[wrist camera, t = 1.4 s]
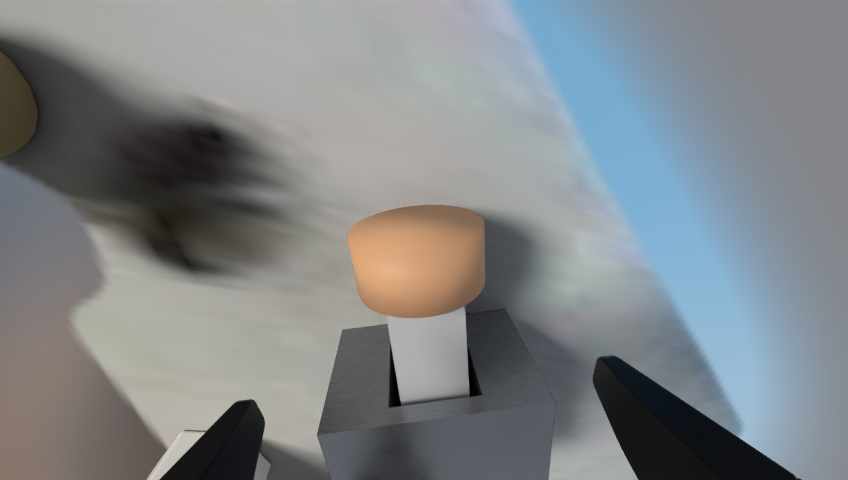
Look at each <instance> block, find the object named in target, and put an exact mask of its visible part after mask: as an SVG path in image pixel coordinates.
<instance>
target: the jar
mask: <svg viewBox="0 0 848 480" xmlns="http://www.w3.org/2000/svg"><path fill="white" fill-rule="evenodd" d="M204 433H205V432H198V431H183V432H181V433H180V434H179V435H178V436H177V438H176V439H175V441H174V442H173V443H172V445H171V446H170V447H169V449H168V450H167V451H166V453H165V454H164V455H163V457H162V458H161V459H160V461H159V462H158V463H157V465H156V466H155V468H154V469H153V471H152V472H151V474H150V475H149V477H148V478H147V480H159V479H160V478H161V477H162V476H163V475H164V474H165V473H166V472H167V471H168V470H169V469H170V468H171V467H172V466H173V465H174V464H175V463H176V462H177V461H178V460H179V459H180V458H181V457H182V456H183V455H184V454H185V453H186V452H187V451H188V450H189V449H190V448H191V447H192V446H193V445H194V443H195V442H196V441H197V440H198V439H199V438H200V437H201V436H202V435H203V434H204ZM270 468H271V464H270V463H269V462H268V460H267V459H266V458H265V457H264V456H263V455H262V454H261V453H260V452H259V456H258V461H257V466H256V471H255V475H254V480H266V479H267V476H268V473H269V471H270Z"/></svg>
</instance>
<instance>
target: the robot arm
mask: <svg viewBox="0 0 848 480" xmlns="http://www.w3.org/2000/svg"><path fill="white" fill-rule="evenodd" d="M593 384H594V387H595V389H596V392H597V394H598V396H599V399H600V401H601V403H602V405H603V408H604V410H605V412H606V415H607V417H608V419H609V422H610V424H611V426H612V428H613V431H614V433H615V435H616V438H617V440H618V442H619V444H620V446H621V448H622V450H623V452H624V454H625V456H626V458H627V460H628V461H629V463H630V465H631V467H632V469H633V471H634V472H635V474H636V476H637V478H638V480H801V479H799V478H796V477H795V475H794V474H792V473H791V472H789V471H788V470H786V469H785V468H783V467H782V466H780V465H779V464H777V463H776V462H774V461H772V460H771V459H770V458H768V457H767V456H765V455H763V454H762V453H761V452H759V451H758V450H756V449H755V448H753V447H752V446H750V445H749V444H747V443H746V442H744V441H743V440H741V439H740V438H738V437H737V436H735V435H734V434H732V433H731V432H729V431H728V430H726V429H725V428H723V427H722V426H720V425H719V424H717V423H716V422H714V421H713V420H711V419H710V418H708V417H707V416H705V415H704V414H702V413H701V412H699V411H698V410H696V409H695V408H693V407H692V406H690V405H689V404H687V403H686V402H684V401H683V400H681V399H680V398H678V397H677V396H675V395H674V394H672V393H671V392H669V391H668V390H666V389H665V388H663V387H662V386H660V385H659V384H657V383H656V382H654V381H653V380H651V379H650V378H648V377H647V376H645V375H644V374H642V373H641V372H639V371H638V370H636V369H635V368H633V367H632V366H630V365H629V364H627V363H626V362H624V361H623V360H621V359H620V358H618V357H616V356H613V355H610V356H602V357H599V358H598V359H597V361H596V366H595V370H594V374H593ZM264 427H265V421H264V417H263V415H262V413H261V411H260V409H259V407H258V406H257V404H256V402H255V401H254V400H252V399H250V400H241V401H237V402H235V403H234V404H233V405H232V406H231V407H230V408H229V409H228V410H227V411H226V412H225V413H224V414H223V415H222V416H221V417H220V418H219V419H218V420H217V421H216V422H215V423H214V424H213V425H212V426H211V427H210V428H209V429H208V430H207V431H206V432H205V433H204V434H203V435H202V436H201V437H200V438H199V439H198V440H197V441H196V442H195V443H194V445H193V446H192V447H191V448H190V449H189V450H188V451H187V452H186V453H185V454H184V455H183V456H182V457H181V458H180V459H179V460H178V461H177V462H176V463H175V464H174V465H173V466H172V467H171V468H170V469H169V470H168V471H167V472H166V473H165V474H164V475H163V476H162V477H161V478H160V479H159V480H254V475H255V471H256V466H257V461H258V456H259V451H260V447H261V442H262V437H263V432H264Z"/></svg>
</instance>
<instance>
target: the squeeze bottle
mask: <svg viewBox="0 0 848 480" xmlns="http://www.w3.org/2000/svg"><path fill="white" fill-rule="evenodd" d="M37 118H38V109H37V106H36V103H35V100H34V97H33V94H32V91H31V87H30V86H29V84H28V83H27V81H26V80H25V79H24V77H23V76H22V74H21V73H20V72H19V70H18V69H17V67H16V66H15V64H14V63H13V62H12V61H11V60H10V59H9V58H8V57H7V56H5V55H4V54H3V53H2V52H1V51H0V159H2V158H4V157H6V156H7V155H9V154H11V153H13V152H15V151H17V150H19V149H21V148H22V147H24V146H25V145H26V143H27V142H28V141H29V140H30V139H31V137H32V136H33V135H34V134H35V133H36V125H37Z"/></svg>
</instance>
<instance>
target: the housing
mask: <svg viewBox="0 0 848 480" xmlns="http://www.w3.org/2000/svg"><path fill="white" fill-rule="evenodd" d="M465 316H466V336H467V356H468V376H469V396H470V397H465V398H458V399H451V400H443V401H436V402H429V403H421V404H414V405H406V406H401V401H400V395H399V389H398V383H397V377H396V371H395V365H394V359H393V353H392V348H391V342H390V336H389V330H388V324H387V325H379V326H371V327H363V328H355V329H347V330H342V334H341V338H340V342H339V346H338V350H337V354H336V359H335V363H334V367H333V371H332V375H331V379H330V383H329V388H328V392H327V396H326V400H325V404H324V408H323V412H322V417H321V421H320V425H319V429H318V433H317V437H318V440H319V443H320V446H321V449H322V452H323V455H324V458H325V461H326V464H327V467H328V470H329V473H330V476H331V479H332V480H548V478H549V468H550V457H551V447H552V437H553V427H554V417H555V406H556V402H555V400H554V398H553V396H552V394H551V392H550V391H549V389H548V387H547V385H546V383H545V381H544V379H543V377H542V376H541V374H540V372H539V370H538V368H537V366H536V364H535V363H534V361H533V359H532V357H531V355H530V353H529V351H528V350H527V348H526V346H525V344H524V342H523V340H522V338H521V337H520V335H519V333H518V331H517V329H516V327H515V325H514V324H513V322H512V320H511V318H510V316H509V314H508V312H507V311H506V310H498V311H490V312H482V313H474V314H466V315H465Z"/></svg>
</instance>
